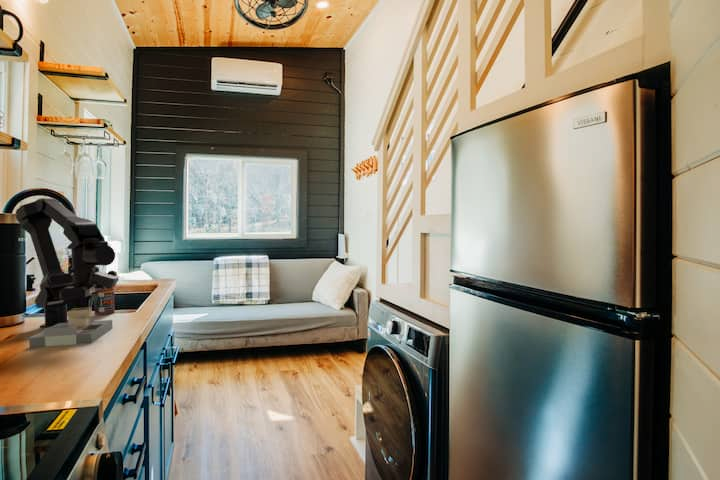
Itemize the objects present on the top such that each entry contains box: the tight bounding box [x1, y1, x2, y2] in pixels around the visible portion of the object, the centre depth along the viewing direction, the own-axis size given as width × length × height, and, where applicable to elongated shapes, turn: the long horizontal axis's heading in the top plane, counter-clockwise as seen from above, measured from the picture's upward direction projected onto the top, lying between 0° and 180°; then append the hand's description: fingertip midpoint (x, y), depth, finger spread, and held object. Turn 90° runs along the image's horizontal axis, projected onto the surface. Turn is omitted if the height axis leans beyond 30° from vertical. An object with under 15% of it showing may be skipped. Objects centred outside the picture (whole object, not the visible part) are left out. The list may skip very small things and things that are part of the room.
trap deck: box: [28, 319, 113, 349], centre depth 116 cm, size 16×14×4 cm
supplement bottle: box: [93, 287, 116, 316], centre depth 147 cm, size 6×6×11 cm
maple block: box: [67, 307, 93, 327], centre depth 121 cm, size 4×4×4 cm
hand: (86, 317), depth 125 cm, fingers closed
